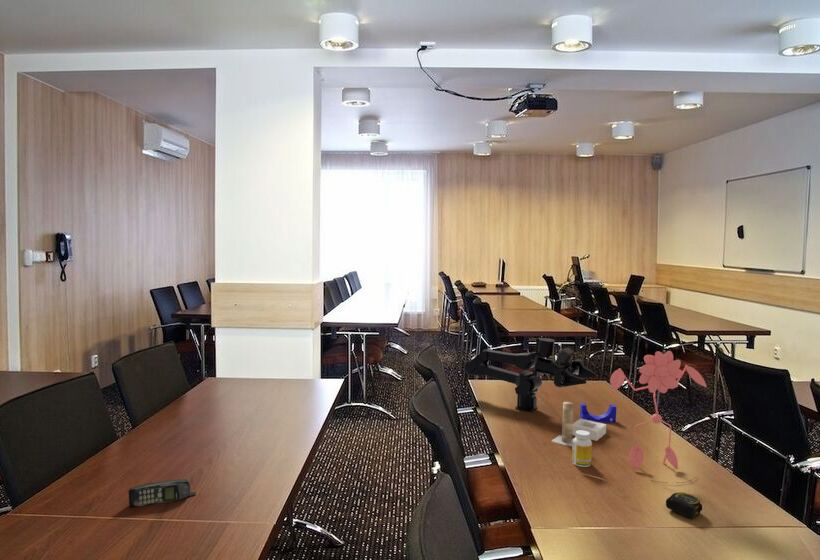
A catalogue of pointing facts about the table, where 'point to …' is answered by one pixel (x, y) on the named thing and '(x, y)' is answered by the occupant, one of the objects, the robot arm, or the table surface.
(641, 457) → the figurine
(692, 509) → the tape measure
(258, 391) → the table surface
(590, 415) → the cable clip
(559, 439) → the mat
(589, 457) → the supplement bottle
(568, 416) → the peg
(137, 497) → the mobile phone
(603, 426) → the block
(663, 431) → the table surface
